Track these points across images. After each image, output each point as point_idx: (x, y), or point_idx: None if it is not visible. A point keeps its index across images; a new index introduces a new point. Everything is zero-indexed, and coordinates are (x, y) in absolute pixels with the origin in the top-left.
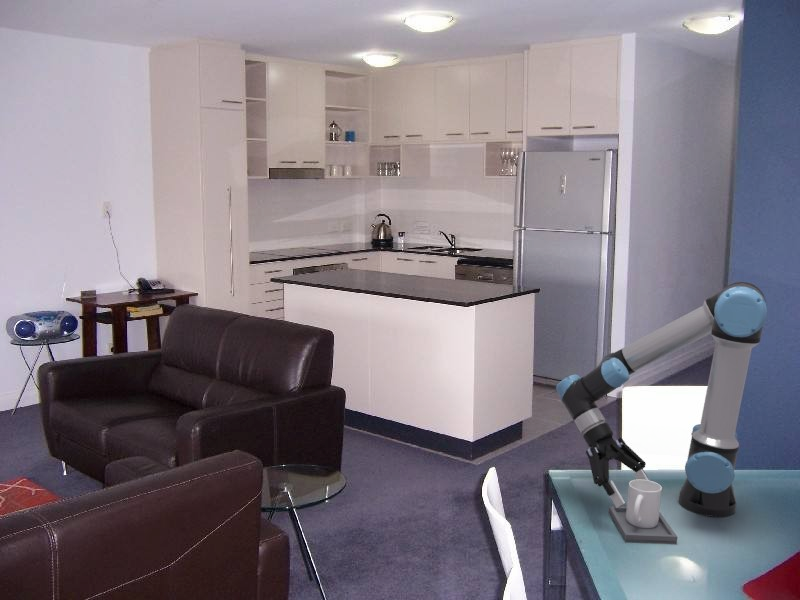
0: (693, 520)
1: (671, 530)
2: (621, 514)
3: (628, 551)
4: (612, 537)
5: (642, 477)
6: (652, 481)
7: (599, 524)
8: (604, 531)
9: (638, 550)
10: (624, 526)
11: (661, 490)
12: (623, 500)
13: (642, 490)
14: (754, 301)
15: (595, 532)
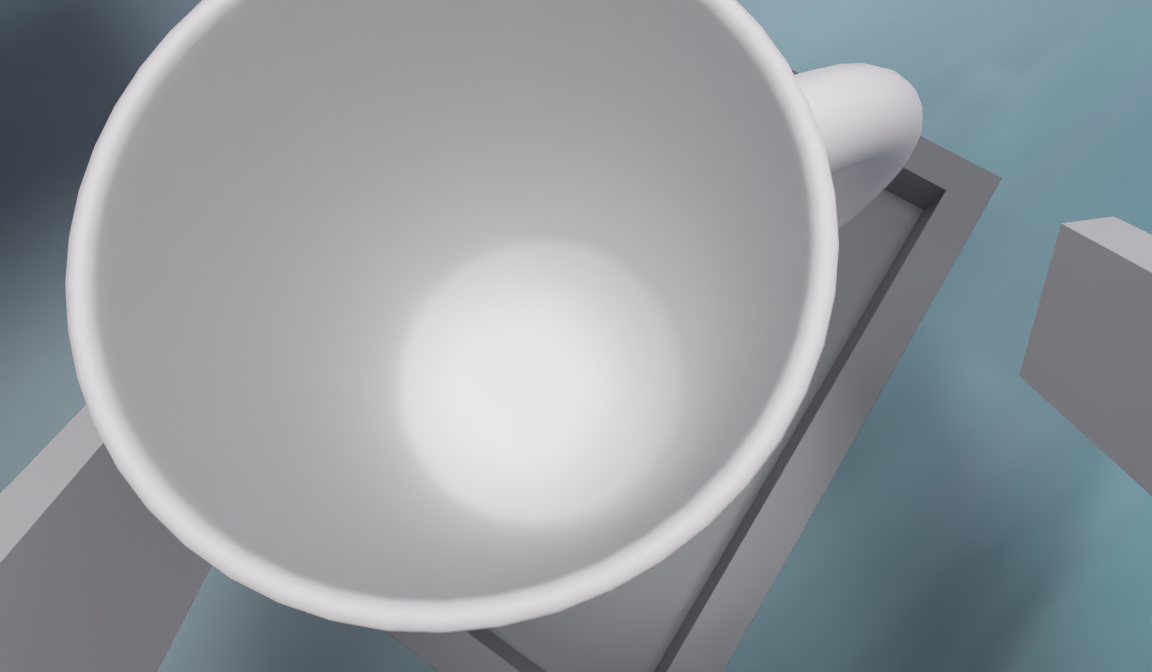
0: (43, 225)
1: None
2: (588, 623)
3: (1048, 89)
4: (1006, 332)
5: (14, 656)
6: (78, 301)
7: (936, 611)
8: (996, 463)
9: (951, 65)
10: (878, 313)
11: None
12: (1105, 245)
13: (308, 488)
14: None
15: (1104, 492)
